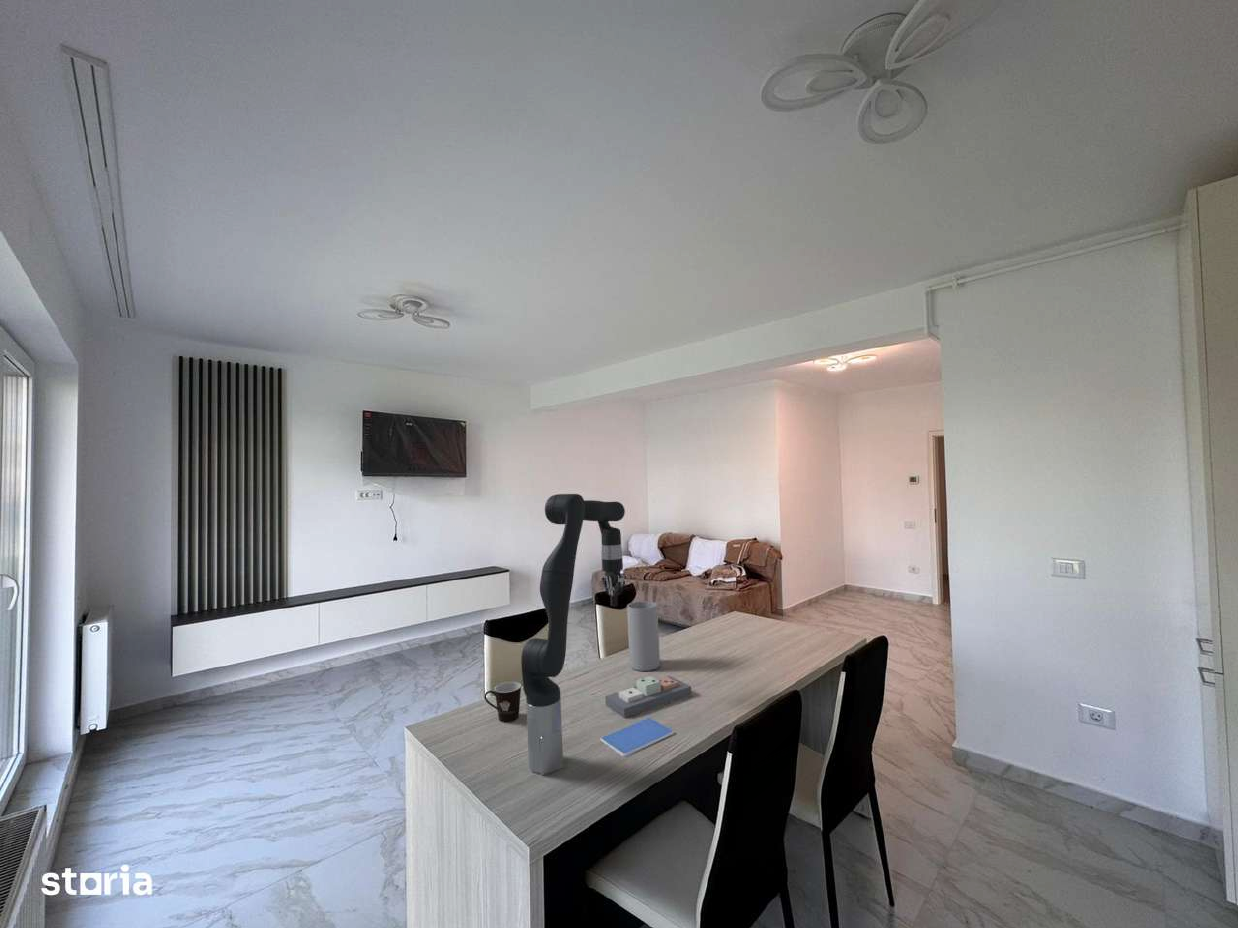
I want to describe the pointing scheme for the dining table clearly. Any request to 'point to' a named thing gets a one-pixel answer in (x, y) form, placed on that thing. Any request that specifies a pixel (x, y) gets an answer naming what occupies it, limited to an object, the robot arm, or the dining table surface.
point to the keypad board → (647, 700)
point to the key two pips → (648, 686)
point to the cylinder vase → (643, 636)
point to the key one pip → (630, 695)
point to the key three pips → (667, 683)
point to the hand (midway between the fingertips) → (614, 605)
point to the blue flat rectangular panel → (636, 736)
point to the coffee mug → (507, 701)
